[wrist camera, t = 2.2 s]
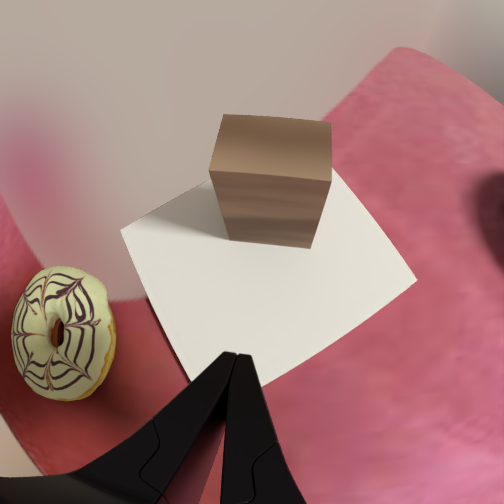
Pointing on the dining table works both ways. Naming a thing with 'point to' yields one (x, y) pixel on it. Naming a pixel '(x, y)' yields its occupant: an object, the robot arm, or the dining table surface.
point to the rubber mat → (262, 281)
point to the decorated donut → (75, 334)
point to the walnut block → (272, 178)
